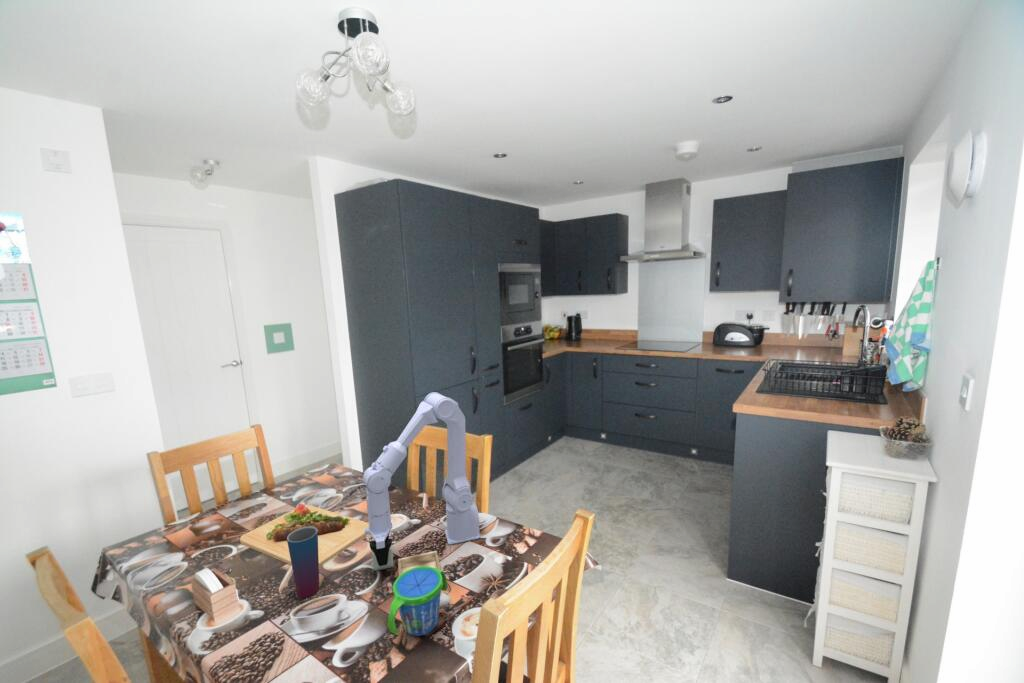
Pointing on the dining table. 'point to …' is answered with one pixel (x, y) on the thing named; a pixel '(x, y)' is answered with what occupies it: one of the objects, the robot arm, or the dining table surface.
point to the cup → (304, 560)
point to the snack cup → (417, 600)
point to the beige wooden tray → (418, 561)
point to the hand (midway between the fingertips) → (383, 558)
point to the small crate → (389, 565)
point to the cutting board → (331, 526)
